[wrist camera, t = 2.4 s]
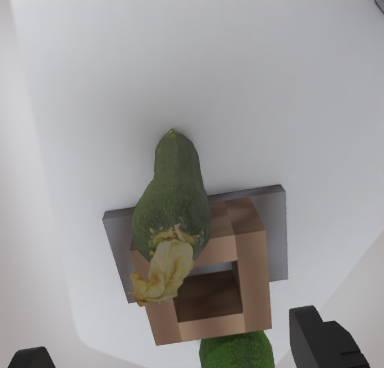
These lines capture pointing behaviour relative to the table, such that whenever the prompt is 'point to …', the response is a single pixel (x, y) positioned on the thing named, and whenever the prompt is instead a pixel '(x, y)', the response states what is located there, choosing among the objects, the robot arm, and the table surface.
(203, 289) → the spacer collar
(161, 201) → the vegetable
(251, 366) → the avocado
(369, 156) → the table surface
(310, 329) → the robot arm
